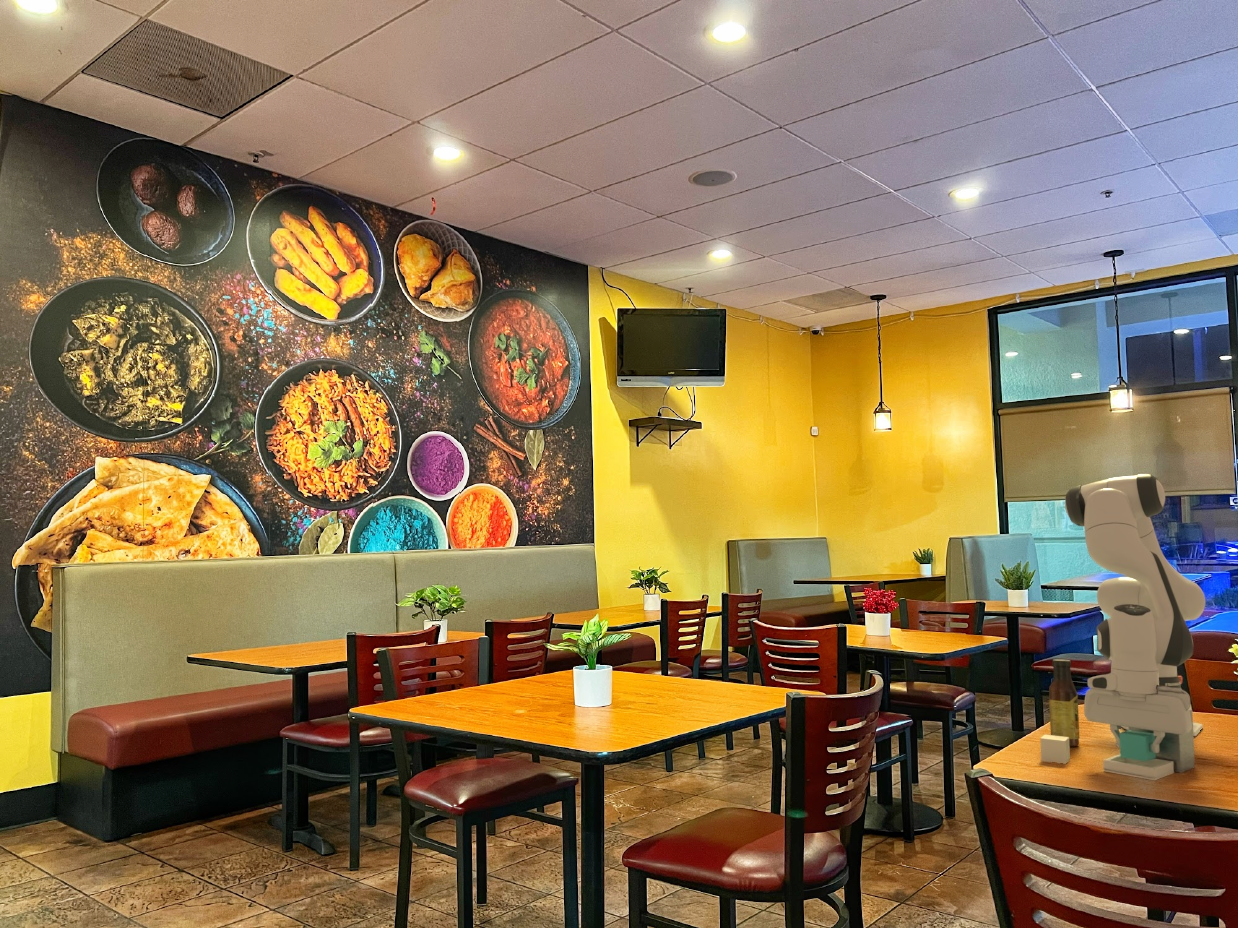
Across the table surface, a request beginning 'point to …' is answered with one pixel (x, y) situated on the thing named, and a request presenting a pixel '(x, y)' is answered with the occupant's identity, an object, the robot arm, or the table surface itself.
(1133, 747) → the teal block
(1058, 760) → the cream block
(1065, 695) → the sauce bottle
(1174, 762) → the dispenser
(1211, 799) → the table surface
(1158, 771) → the tray
